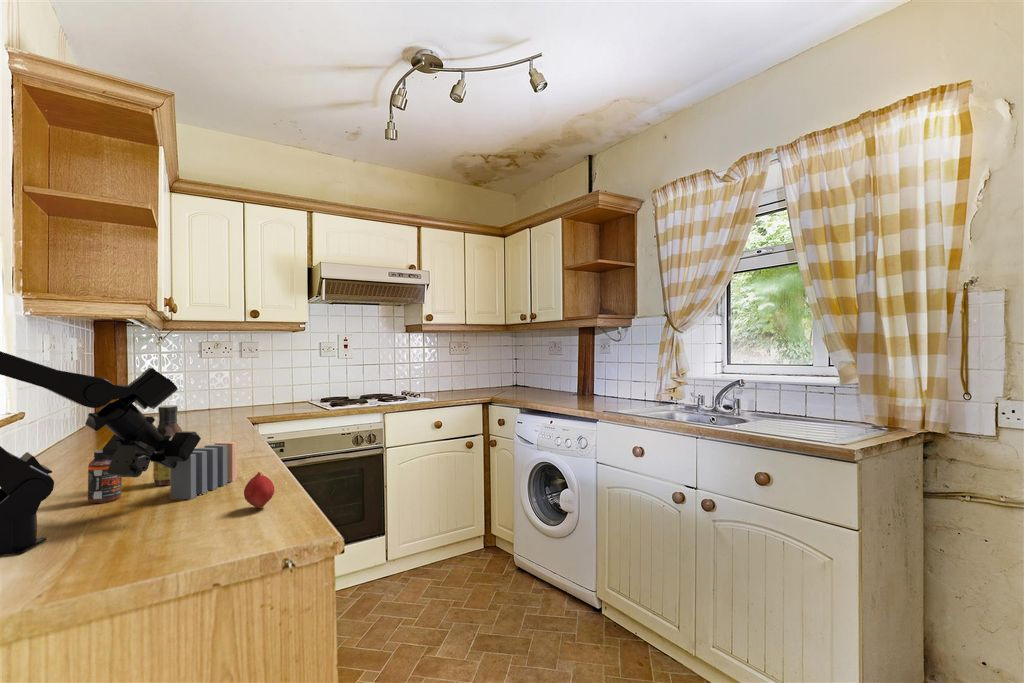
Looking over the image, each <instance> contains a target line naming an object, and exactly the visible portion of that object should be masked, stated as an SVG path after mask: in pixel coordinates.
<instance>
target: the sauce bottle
mask: <svg viewBox="0 0 1024 683" xmlns="http://www.w3.org/2000/svg"><path fill="white" fill-rule="evenodd" d="M157 407H158V410H157V411H158V416H159V418H158V425H157V426H156V428H164V429H165V430H166V433H165V434H164V435H172V436H173V437H174V435H175V434H176V432H181V431H183V430H182V428H181V426H179V423H178V415H177V414H178V411H179V410H178V409H179V408H178V405H177V404H165V405H158V406H157ZM173 437H172V438H173ZM152 463H153V464H152V465H153V466H152V473H153V474H152V476H153V477H152V478H153V483H154V485H156V486H171V468H169V467H166V466H164V465H161V464H159V463H156V462H152Z"/></svg>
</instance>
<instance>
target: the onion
mask: <svg viewBox="0 0 1024 683" xmlns="http://www.w3.org/2000/svg"><path fill="white" fill-rule="evenodd" d="M275 490H276V489H275V484H274V483H273V481H272V480H271V479H270V478H269V477H268V476H266V475H264V474H263V472H262V470H260V471H258V472H257V473H256V474H255V475H254V476H253V477H252V478H250V480H249V481H248V482H247V483H246V485H245V487H244V490H243V496H244V500H245V501H246V502H247V503H248V504H250V505H251V506H253V507H254V508H256V509H257V508H260V509H262V508H264V506H266V504H267V503H269V502H270V500H271V499H272V498H273V496H274V494H275Z"/></svg>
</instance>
